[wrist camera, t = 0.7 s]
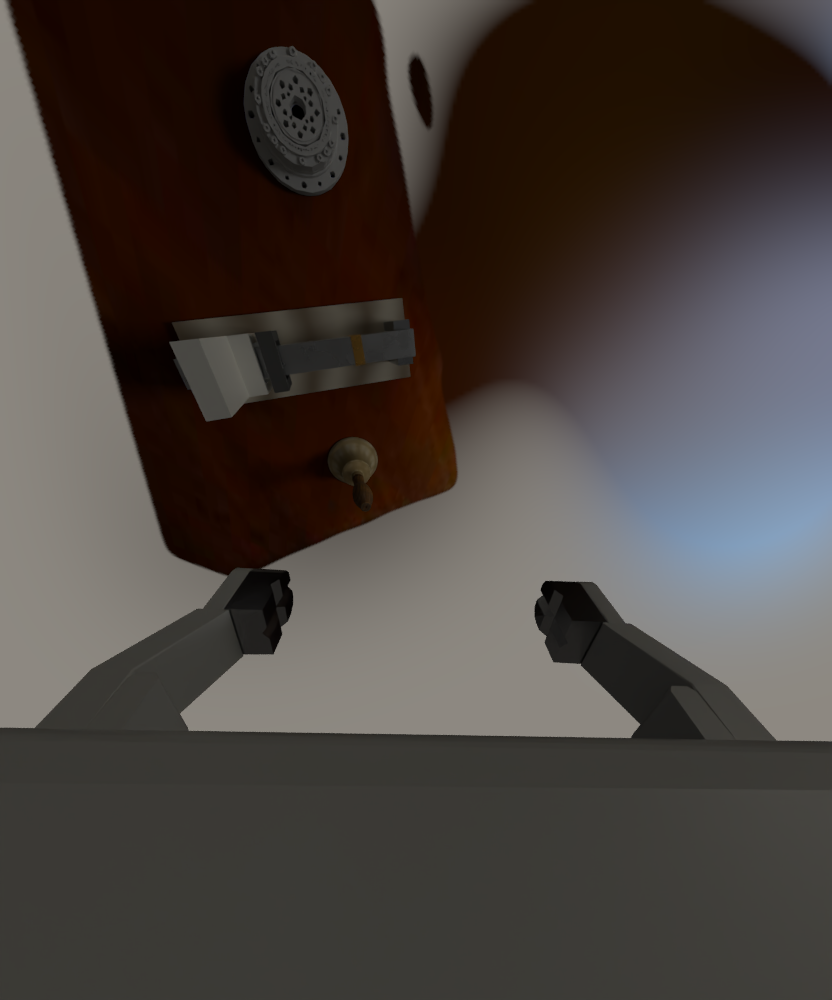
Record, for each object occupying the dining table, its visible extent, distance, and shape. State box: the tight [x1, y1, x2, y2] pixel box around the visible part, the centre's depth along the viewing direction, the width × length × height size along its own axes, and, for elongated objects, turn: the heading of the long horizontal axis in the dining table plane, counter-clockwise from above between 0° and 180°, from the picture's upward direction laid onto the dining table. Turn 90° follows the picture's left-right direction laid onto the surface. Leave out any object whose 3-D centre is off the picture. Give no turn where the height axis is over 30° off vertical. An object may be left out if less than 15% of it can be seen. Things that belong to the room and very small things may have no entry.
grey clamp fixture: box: [173, 319, 416, 390], centre depth 37 cm, size 26×5×7 cm, turn 96°
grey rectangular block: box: [169, 333, 273, 421], centre depth 31 cm, size 4×6×15 cm, turn 6°
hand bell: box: [328, 437, 378, 511], centre depth 44 cm, size 8×8×16 cm
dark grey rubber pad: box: [255, 330, 292, 393], centre depth 35 cm, size 2×6×6 cm, turn 6°
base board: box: [172, 298, 410, 403], centre depth 41 cm, size 28×10×1 cm, turn 96°
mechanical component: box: [244, 46, 348, 196], centre depth 30 cm, size 10×4×10 cm
